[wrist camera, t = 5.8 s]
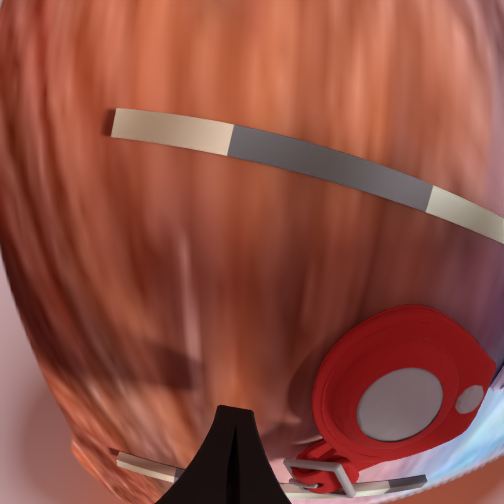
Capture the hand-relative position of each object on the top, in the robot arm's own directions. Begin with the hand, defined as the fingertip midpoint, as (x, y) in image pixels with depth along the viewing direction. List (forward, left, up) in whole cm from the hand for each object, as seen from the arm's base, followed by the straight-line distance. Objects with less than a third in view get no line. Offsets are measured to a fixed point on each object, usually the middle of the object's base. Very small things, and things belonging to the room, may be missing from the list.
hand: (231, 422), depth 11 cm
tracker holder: (-7, 0, -3) cm, 7 cm away
